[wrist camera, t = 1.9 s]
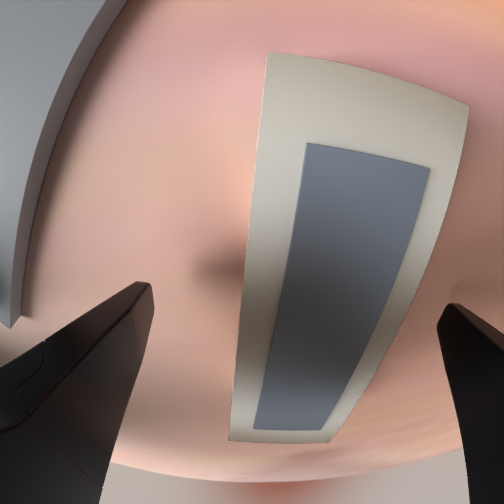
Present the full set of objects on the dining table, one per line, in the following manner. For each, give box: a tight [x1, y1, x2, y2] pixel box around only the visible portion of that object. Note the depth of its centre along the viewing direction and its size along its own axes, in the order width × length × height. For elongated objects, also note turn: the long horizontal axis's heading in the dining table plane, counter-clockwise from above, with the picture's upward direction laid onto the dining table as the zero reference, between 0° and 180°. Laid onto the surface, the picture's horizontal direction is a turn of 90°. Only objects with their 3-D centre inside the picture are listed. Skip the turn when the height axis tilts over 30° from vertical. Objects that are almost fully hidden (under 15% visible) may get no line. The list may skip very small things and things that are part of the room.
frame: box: [228, 51, 470, 444], centre depth 8 cm, size 12×4×3 cm, turn 174°
